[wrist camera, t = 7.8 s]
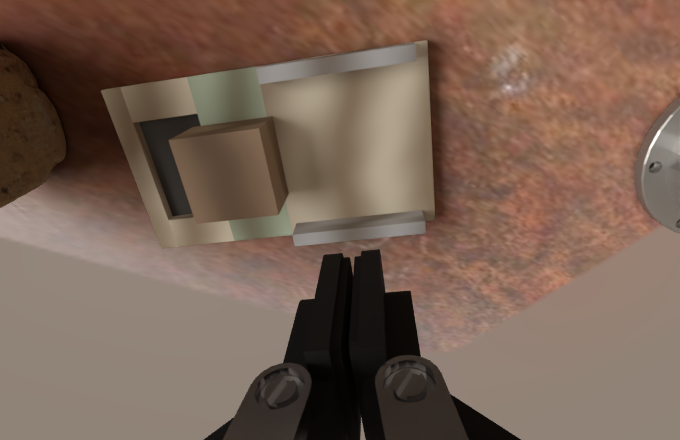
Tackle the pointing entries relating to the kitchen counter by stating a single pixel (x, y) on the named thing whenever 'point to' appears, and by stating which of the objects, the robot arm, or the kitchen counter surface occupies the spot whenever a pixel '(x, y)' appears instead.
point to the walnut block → (231, 170)
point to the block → (25, 131)
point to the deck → (296, 144)
